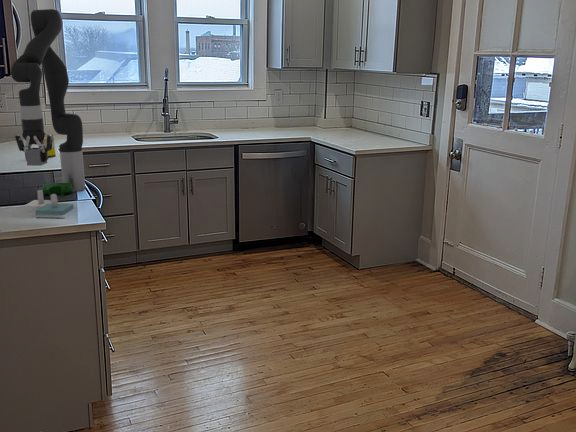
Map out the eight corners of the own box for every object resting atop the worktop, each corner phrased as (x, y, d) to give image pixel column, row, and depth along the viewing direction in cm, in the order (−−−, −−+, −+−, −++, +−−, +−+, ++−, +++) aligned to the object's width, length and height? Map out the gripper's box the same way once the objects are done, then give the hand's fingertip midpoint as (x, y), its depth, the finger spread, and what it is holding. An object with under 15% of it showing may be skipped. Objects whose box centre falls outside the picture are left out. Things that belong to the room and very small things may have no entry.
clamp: (48, 209, 248) (36, 191, 243) (51, 202, 253) (39, 185, 248) (75, 198, 247) (63, 180, 243) (77, 191, 252) (65, 174, 248)
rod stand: (34, 203, 239) (33, 187, 237) (59, 203, 238) (57, 187, 237) (23, 209, 229) (21, 193, 228) (48, 210, 229) (46, 193, 227)
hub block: (48, 211, 227) (46, 190, 225) (74, 211, 227) (72, 190, 225) (36, 218, 218) (33, 196, 216) (63, 218, 217) (61, 197, 215)
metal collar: (33, 162, 232) (31, 147, 230) (47, 162, 232) (45, 147, 230) (27, 165, 227) (25, 149, 225) (41, 165, 227) (39, 149, 225)
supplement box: (50, 155, 349) (48, 136, 346) (56, 156, 345) (54, 137, 343) (40, 156, 345) (38, 137, 342) (46, 157, 341) (44, 138, 338)
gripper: (54, 116, 228) (59, 160, 232) (17, 116, 228) (23, 159, 233) (46, 118, 221) (51, 163, 225) (8, 118, 221) (14, 163, 226)
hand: (37, 161), depth 229 cm, fingers closed on metal collar, 5 cm apart
